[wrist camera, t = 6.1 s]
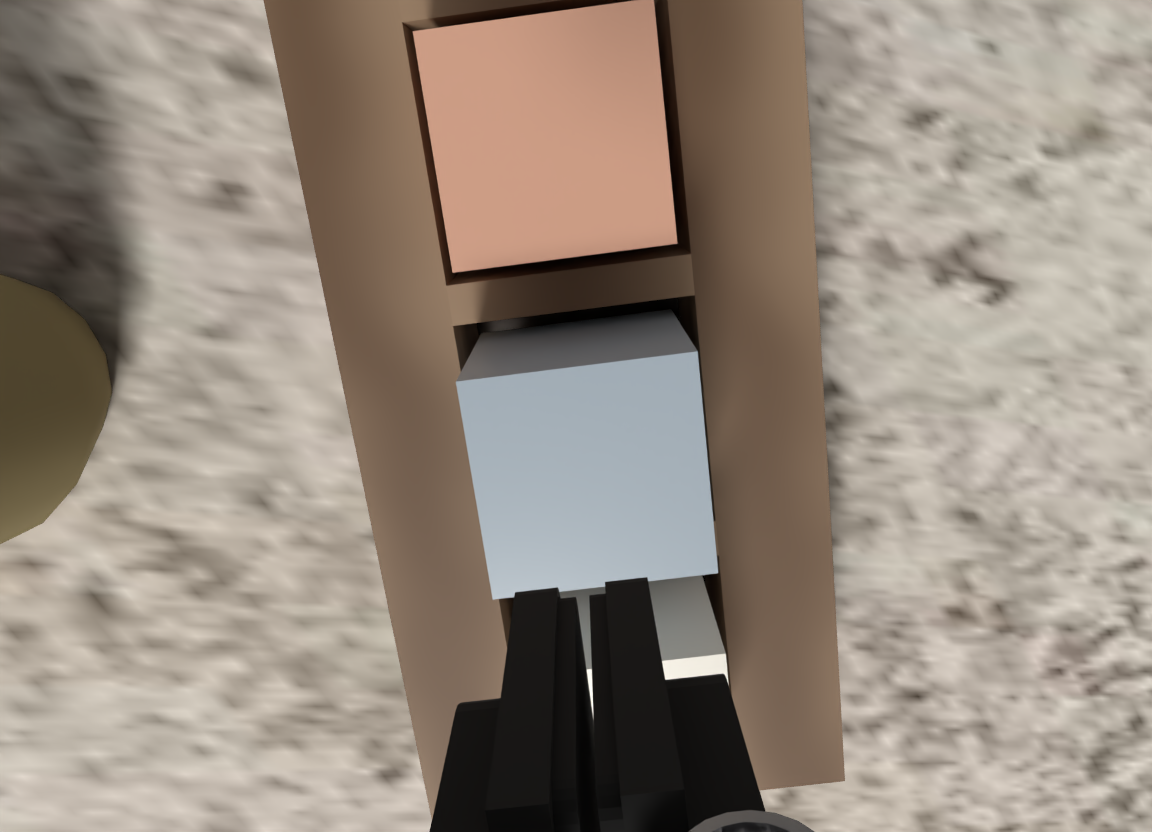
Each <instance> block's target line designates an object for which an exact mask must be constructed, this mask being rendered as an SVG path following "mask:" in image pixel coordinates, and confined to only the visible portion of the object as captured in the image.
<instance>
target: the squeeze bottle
mask: <svg viewBox="0 0 1152 832" xmlns="http://www.w3.org/2000/svg"><path fill="white" fill-rule="evenodd" d="M111 394H112V389H111V383H110V377H109V371H108V365H107V359H106V354H105V353H104V351H103V349H102V348H101V346H100V344H99V342H98V341H97V339H96V337H95V336H94V334H93V332H92V331H91V329H90V327H89V326H88V324H87V322H86V320H85V319H84V318H82V317H81V316H80V315H79V314H78V313H76V312H75V311H74V310H73V309H72V308H70V307H69V306H68V305H67V304H66V303H64V302H63V301H62V300H61V299H60V298H58V297H57V296H56V295H55V294H54V293H52V292H49V291H46V290H44V289H41V288H38V287H36V286H33V285H30V284H28V283H25V282H22V281H19V280H17V279H14V278H11V277H8V276H5V275H1V274H0V544H1V543H3V542H5V541H7V540H10V539H12V538H14V537H16V536H18V535H20V534H22V533H24V532H26V531H28V530H30V529H32V528H34V527H36V526H38V525H40V524H42V523H44V521H45V520H46V519H47V518H48V517H49V516H50V514H51V513H52V512H53V511H54V510H55V509H56V508H57V506H58V505H59V504H60V503H61V502H62V501H63V499H64V498H65V497H66V496H67V495H68V494H69V492H70V491H71V490H72V489H73V488H74V487H75V486H76V484H77V483H78V481H79V478H80V476H81V474H82V472H83V470H84V467H85V465H86V463H87V461H88V459H89V456H90V454H91V452H92V450H93V448H94V445H95V443H96V441H97V439H98V437H99V434H100V432H101V430H102V428H103V425H104V421H105V417H106V413H107V410H108V406H109V402H110V398H111Z"/></svg>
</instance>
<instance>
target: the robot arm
mask: <svg viewBox="0 0 1152 832" xmlns="http://www.w3.org/2000/svg"><path fill="white" fill-rule="evenodd" d="M605 591H606V593H605V594H596V595H589V603H590V632H591V661H592V690H593V713H592V706H591V698H590V691H589V684H588V676H587V669H586V662H585V655H584V647H583V640H582V633H581V626H580V618H579V611H578V604H577V599H576V597H570V598H561V597H560V592H559V589H558V587H556V588H548V589H539V590H530V591H521V592H515V595H514V602H513V609H512V616H511V624H510V631H509V639H508V646H507V653H506V661H505V668H504V675H503V683H502V690H501V698H497V699H488V700H479V701H470V702H461V703H459V704H458V705H457V708H456V711H455V715H454V720H453V725H452V729H451V734H450V739H449V743H448V748H447V753H446V757H445V762H444V767H443V771H442V776H441V781H440V785H439V790H438V795H437V799H436V804H435V809H434V814H433V818H432V823H431V828H430V832H814V831H813V830H811V829H810V828H808V827H807V826H805V825H803V824H802V823H800V822H799V821H797V820H794V819H791V818H788V817H785V816H783V815H780V814H777V813H772V812H765V808H764V805H763V801H762V798H761V795H760V791H759V788H758V784H757V781H756V778H755V774H754V771H753V767H752V764H751V760H750V757H749V754H748V750H747V747H746V743H745V740H744V736H743V733H742V730H741V726H740V723H739V719H738V716H737V712H736V709H735V706H734V702H733V699H732V695H731V692H730V688H729V685H728V682H727V679H726V676H725V675H724V674H714V675H705V676H696V677H687V678H678V679H669V680H665V675H664V670H663V664H662V658H661V652H660V647H659V641H658V635H657V629H656V624H655V618H654V612H653V606H652V601H651V595H650V589H649V583H648V578H647V577H644V578H635V579H626V580H618V581H609V582H605ZM593 719H594V720H593Z"/></svg>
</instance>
